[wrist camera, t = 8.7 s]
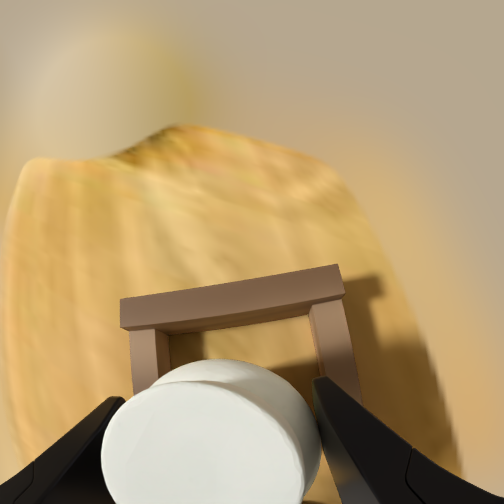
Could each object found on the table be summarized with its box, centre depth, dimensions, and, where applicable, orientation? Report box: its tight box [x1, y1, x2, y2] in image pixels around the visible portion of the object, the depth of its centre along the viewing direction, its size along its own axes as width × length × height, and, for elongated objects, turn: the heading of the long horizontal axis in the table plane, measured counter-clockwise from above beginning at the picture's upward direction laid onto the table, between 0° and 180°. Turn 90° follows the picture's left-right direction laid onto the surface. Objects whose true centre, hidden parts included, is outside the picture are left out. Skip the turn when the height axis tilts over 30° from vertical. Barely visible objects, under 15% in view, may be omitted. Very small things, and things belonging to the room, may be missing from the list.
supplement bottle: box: [101, 359, 321, 504], centre depth 8 cm, size 5×5×10 cm
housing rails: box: [120, 264, 363, 406], centre depth 13 cm, size 10×11×3 cm
